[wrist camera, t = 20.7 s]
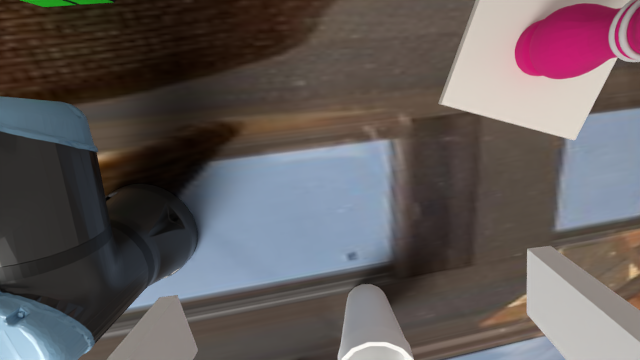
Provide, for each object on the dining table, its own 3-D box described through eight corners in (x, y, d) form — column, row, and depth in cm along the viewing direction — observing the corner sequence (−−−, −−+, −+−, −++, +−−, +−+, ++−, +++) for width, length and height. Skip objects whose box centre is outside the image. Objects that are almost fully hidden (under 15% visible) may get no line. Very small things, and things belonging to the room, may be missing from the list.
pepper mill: (514, 88, 37) (705, 88, 18) (504, 28, 35) (706, -45, 16) (576, 68, 36) (846, 44, 17) (569, 5, 34) (865, -102, 15)
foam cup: (407, 304, 48) (432, 378, 36) (362, 333, 51) (371, 413, 38) (370, 264, 47) (383, 328, 34) (325, 296, 49) (322, 367, 36)
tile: (568, 138, 40) (574, 140, 39) (438, 103, 39) (441, 104, 38) (644, -12, 35) (655, -16, 33) (495, -55, 34) (501, -60, 33)
